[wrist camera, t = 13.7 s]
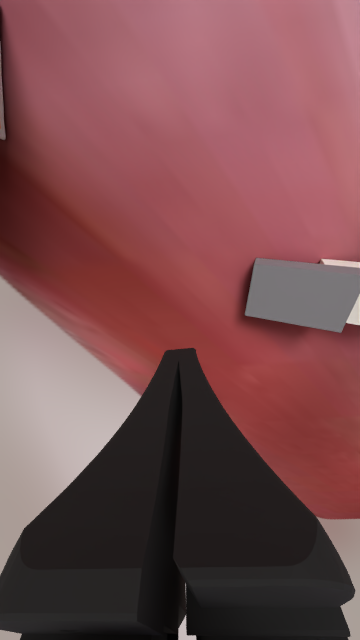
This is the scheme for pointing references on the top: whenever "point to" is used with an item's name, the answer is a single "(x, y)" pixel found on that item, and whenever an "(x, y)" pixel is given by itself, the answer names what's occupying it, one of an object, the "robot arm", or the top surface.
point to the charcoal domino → (303, 293)
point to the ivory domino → (356, 316)
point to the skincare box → (1, 106)
